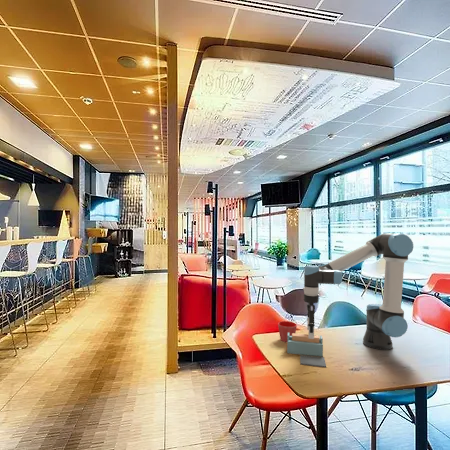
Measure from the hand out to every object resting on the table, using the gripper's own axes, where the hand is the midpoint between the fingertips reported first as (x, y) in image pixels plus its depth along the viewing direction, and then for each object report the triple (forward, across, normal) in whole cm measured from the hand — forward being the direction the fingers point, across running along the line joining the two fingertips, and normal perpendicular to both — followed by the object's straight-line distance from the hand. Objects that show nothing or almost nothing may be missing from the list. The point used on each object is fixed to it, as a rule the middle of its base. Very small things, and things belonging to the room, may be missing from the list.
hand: (310, 334), depth 159 cm
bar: (+5, 0, -2) cm, 6 cm away
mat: (+10, +12, +1) cm, 15 cm away
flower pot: (+10, -14, -12) cm, 21 cm away
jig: (+10, 0, -3) cm, 10 cm away
